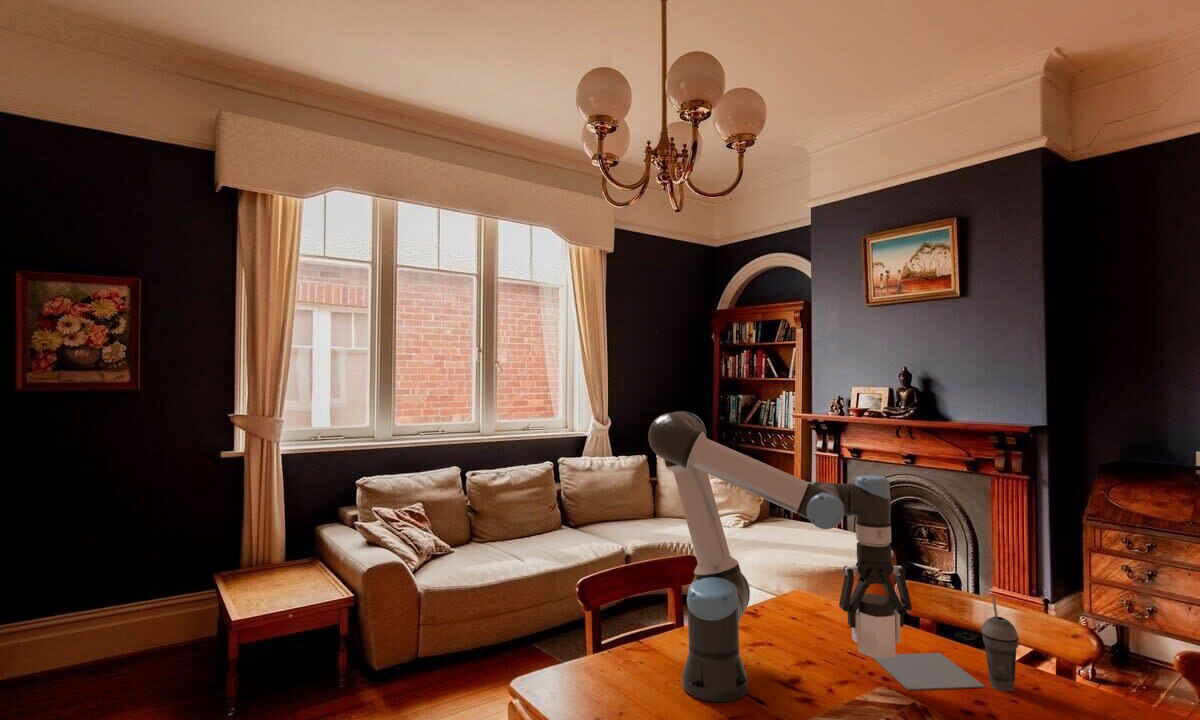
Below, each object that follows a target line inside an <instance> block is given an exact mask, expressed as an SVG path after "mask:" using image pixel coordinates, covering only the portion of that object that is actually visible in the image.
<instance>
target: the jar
mask: <svg viewBox="0 0 1200 720" xmlns="http://www.w3.org/2000/svg"><path fill="white" fill-rule="evenodd" d="M856 612H857V613H858V614H859V615H860V643H857V651H858V653H859V654H861V655H864V656H868V657H870V658H872V657H873V658H876V659H883V658H895V657H896V654H897V653H896V651H897V650H896V649H897V648H896V646H897V645H896V641H895V615H894V613H895V607H894V601H893V600H892V599H891V598H889V597H888V596H886V595H883V594H878V593H865V594H864V596H863V598H862V600H861V603H860V605H859V607H858V609H857V611H856ZM873 658H872V659H873Z"/></svg>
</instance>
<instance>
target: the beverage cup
mask: <svg viewBox="0 0 1200 720" xmlns="http://www.w3.org/2000/svg"><path fill="white" fill-rule="evenodd" d="M991 598H992V604H993V612H994V613H993V614H994V616H991V617H989V618H987V619H985V621H984V622H983V624H982V627H981V628H982V629H981V635H982V641H983V643H984V648H985V657H986V663H987V669H988V676H989V680H990V687H991V688H994V689H995V690H997V689H998V691H1000V690H1001V691H1002V692H1006V691H1010V692H1014V690H1015V683H1016V664H1017V663H1016V662H1017V649H1018V645H1019V635H1018V632H1017V630H1016V627H1015V626H1014V624H1013V623H1012V622H1011V621H1010V620H1008V619H1007V618H1004V617H1002V616H998V611H997V609H998V608H997V602H996V597H995V596H994V595H993V596H991ZM1001 691H1000V692H1001Z"/></svg>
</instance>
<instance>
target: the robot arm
mask: <svg viewBox="0 0 1200 720" xmlns="http://www.w3.org/2000/svg"><path fill="white" fill-rule="evenodd" d="M647 438H648V442H649V443H648V444H649V447H650V448H651V450H652V451H653V452H654V454H655V455H657V456H658V457H660V458H662V459H663V460H664V461H663V462H664V464H665V467H666V469H667V470H669V471H671V472H672V473H673V475H674V480H675V483H676V486H677V490H678V495H679V499H680V502H681V505H682V509H683V512H684V517H685V521H686V524H687V528H688V533H689V535H690V539H691V544H692V547H693V551H694V554H695V558H696V562H697V564H696V566H695V569H694V570H693V573H694V577H695V581H693V582H692V583H691V584H690V585H689V586H688V589H687V596H686V605H687V624H688V625H687V627H688V629H687V630H688V632H687V633H688V653H687V656H686V660H685V664H684V667H683V671H682V675H681V678H682V679H681V682H682V683H681V684H683V686H682V688H683V687H684V688H685V690H686V691H687V692H689V693H690V694H691V695H693V696H695V697H698V698H700V699H699V700H701V699H704V700H703V701H705V700H707V701H706V702H710V701H712V702H713V703H726V702H727V703H728V702H734V701H737V700H739V699H742V698H743V697H745V696H746V695H747V693H748V691H749V679H748V675H747V672H746V669H745V667H744V664H743V660H742V658H741V655H740V630H739V629H740V628H739V627H740V626H739V625H740V624H739V623H740V621H741V619H742V617H743V615H744V613H745V611H746V609H747V607H748V605H749V602H750V597H751V594H750V593H751V591H750V584H749V582H748V579H747V578H746V577H745V575H744V574H743V572H742V571H741V567H740V564H739V561H738V560H737V559H735V558H734V557H732V556H731V554H730V550H729V546H728V543H727V538H726V535H725V532H724V528H723V525H722V524H723V523H722V521H721V520H722V519H721V517H720V513H719V509H718V506H717V502H716V498H715V494H714V491H713V487H712V484H711V481H710V477H709V476H712V477H715V478H717V479H719V480H721V481H724V482H726V483H728V484H731V485H732V486H735V487H737V488H739V489H742V490H743V491H746V492H748V493H751V494H753V495H755V496H756V497H759V498H761V499H764V500H766V501H769V502H770V503H773V504H774V505H777V506H779V507H782V508H784V509H786V510H788V511H790V512H793V513H794V514H797V515H799V516H801V517H802V518H805V519H807V520H808V521H810V523H811V524H812V525H813V526H815V527H816V528H818V529H820V530H831V529H834V528H836V527H837V526H839V524H840V523H841V522H842V520H843V519H844V516H849V517H853V516H854V517H855V519H856V520H855V529H856V530H855V532H856V533H855V537H856V538H855V539H856V540H857V542H856V559H857V560H856V563H855V566H848V565H845V566H843V573H844V579H843V583H842V589H841V594H840V599H839V605H838V607H839V608H840V609H841V610H843V611H844V612H847V624H848V626H849V627H850V628H851V639H852V640H853V641H854V642H855V643H856V644H858V643H860V615H859V614H858V613H857V609H858V607H859V605H860V603H861V600H862V598H863V596H864V594H866V591H867V590H868V589H869V588H870V586H871V585H875V584H877V585H882V586H883V589H884V591H885V592H886V594H887V597H889V598H891V599H892V600H893V601H894V607H895V613H894V615H895V643H898V644H901V643H902V642H901V641H902V640H901V637H902V636H901V628H903V627H904V625H905V624H904V621H905V620H904V617H905V615H906V614H907V611H912V609H913V607H912V606H913V605H912V603H911V602H912V601H911V598H910V593H909V589H908V585H907V581H906V572H907V571H906V568H905V567H903V566H901V565H899V564H896V565H893V563H892V561H893V560H892V559H893V555H892V552H893V550H892V548H893V547H892V546H891V543H892V523H891V521H892V520H891V519H892V518H891V516H892V513H891V512H892V510H891V508H892V507H891V505H892V504H891V501H892V500H891V499H892V498H891V487H890V481H889V480H888V478H886V476H885V477H884V476H881V475H874V474H873V475H872V474H867V475H866V474H863V475H862V474H860V475H856V477H855V479H854V483H839V482H838V483H836V482H823V481H822V482H821V481H807V480H804V479H802V478H800V477H797V476H795V475H792V474H791V473H788V472H785V471H783V470H781V469H778V468H776V467H774V466H771V465H769V464H767V463H764V462H762V461H760V460H758V459H755V458H753V457H751V456H749V455H747V454H744V453H741V452H740V451H737V450H734V449H732V448H729V447H728V446H725V445H723V444H720V443H719V442H716V441H714V440H711V439H710V438H708V437H707V429H706V426H705V424H704V422H703V420H702V419H701V418H700V417H699V416H697V415H696V414H695V413H692V412H689V411H685V410H678V411H675V412H670V413H669V412H668V413H663V414H662V415H660V416H658V417H656V418H655V419H654V420H653V421H652V423H651V424H650V427H649V430H648V436H647ZM857 573H858V575H859V576H858V579H857V584H856V586H855V588H854V581H855V577H856V576H857ZM891 574H893V575H894V579H895V583H896V586H897V591H898V594H897V592H896V591H895V589H894V587H893V583H892V581H891V579H890V576H891ZM853 588H854V590H853ZM898 596H899V597H898ZM685 690H684V691H685ZM686 691H685V692H686ZM687 692H686V693H687ZM691 695H690V696H691ZM693 696H692V697H693ZM695 697H694V698H695ZM698 698H697V699H698ZM712 702H711V703H712Z"/></svg>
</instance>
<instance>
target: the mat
mask: <svg viewBox="0 0 1200 720" xmlns="http://www.w3.org/2000/svg"><path fill="white" fill-rule="evenodd" d="M871 658H872V659H873V661H875V662H876V663H878V664H879V666H881V667H882V669H884V670H885V671H886V672H887V673H888V674H889V675H891V677H892V678H894V680H896V681H897V682H898V683H899V684H900V685H901V686H902V687H904V688H905V690H907V691H925V690H950V689H953V690H954V689H955V690H956V689H977V688H978V689H981V688H986V686H985V685H984V684H983V683H981V681H979V680H977V679H976V678H974V677H973V676H972V675H971V674H970V673H968V672H967V671H965V670H964V669H963V668H961V667H960V666H958V665H957V664H956V663H955V662H953V661H952V660H950V659H949V658H948V657H946V656H945V655H944V654H943V653H940V652H928V653H927V652H925V653H923V652H922V653H901V654H900V653H898V654H897V653H896V657H895V658H883V659H876V658H873V657H871Z"/></svg>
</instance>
